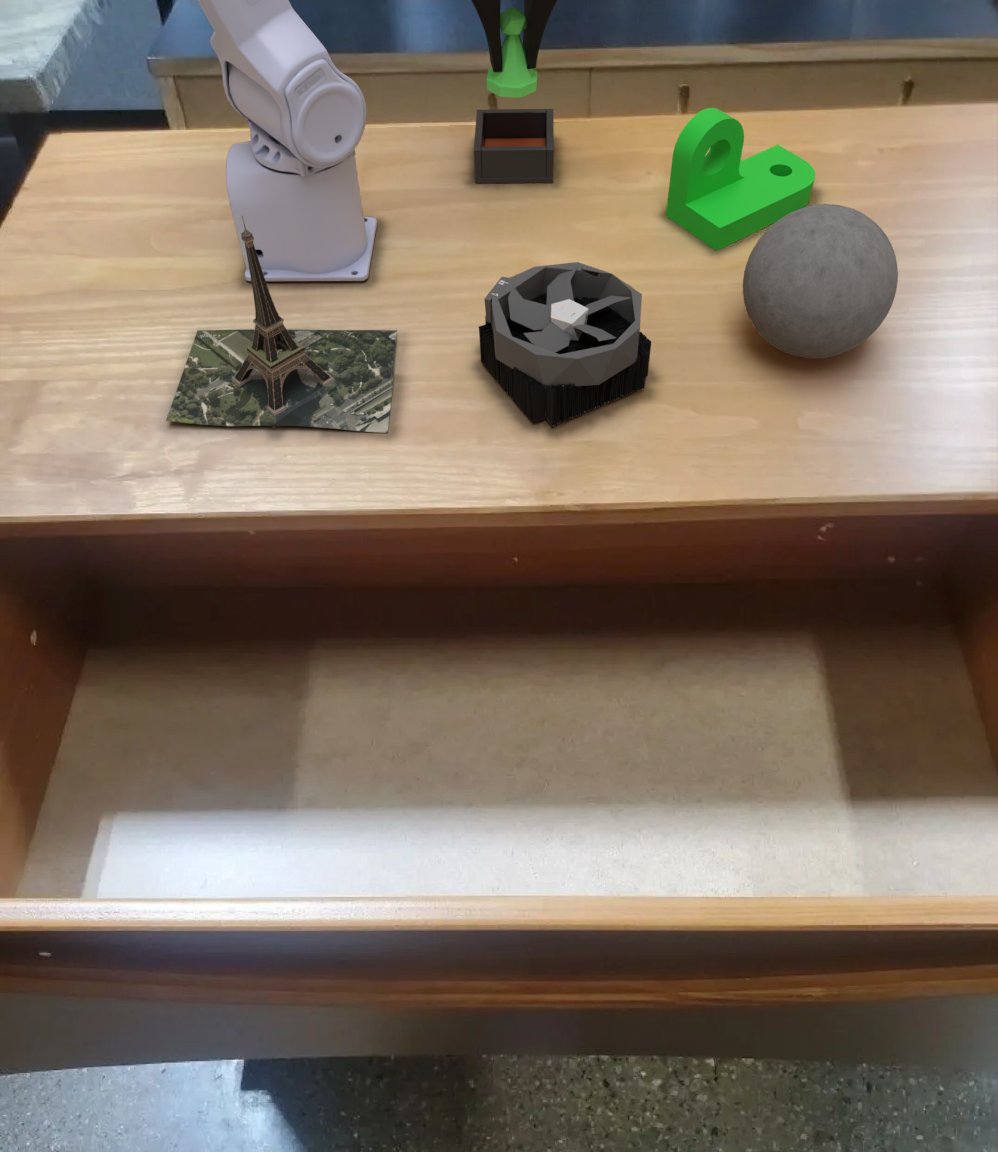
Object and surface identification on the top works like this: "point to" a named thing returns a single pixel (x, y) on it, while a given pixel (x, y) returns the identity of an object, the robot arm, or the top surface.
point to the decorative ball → (820, 281)
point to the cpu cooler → (564, 340)
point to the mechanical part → (731, 181)
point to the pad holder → (514, 146)
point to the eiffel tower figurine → (286, 372)
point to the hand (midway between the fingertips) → (512, 64)
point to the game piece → (512, 59)
